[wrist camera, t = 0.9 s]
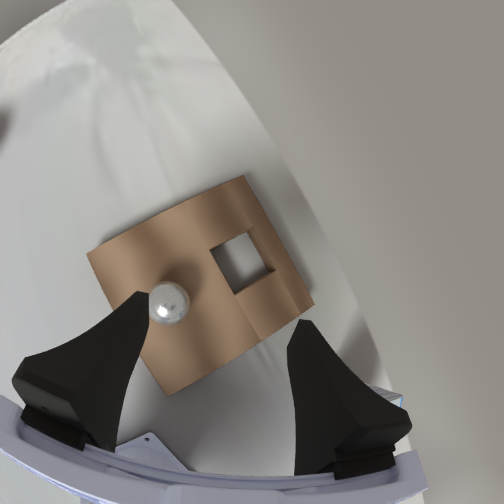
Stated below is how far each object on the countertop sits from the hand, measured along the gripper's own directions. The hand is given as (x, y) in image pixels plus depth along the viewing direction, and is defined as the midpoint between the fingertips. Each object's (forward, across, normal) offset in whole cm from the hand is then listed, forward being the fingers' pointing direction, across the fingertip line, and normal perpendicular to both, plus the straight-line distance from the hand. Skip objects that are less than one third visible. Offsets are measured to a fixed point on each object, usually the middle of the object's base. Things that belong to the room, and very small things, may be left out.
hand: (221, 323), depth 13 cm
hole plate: (+11, +2, +6) cm, 13 cm away
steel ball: (+6, +4, +5) cm, 9 cm away
